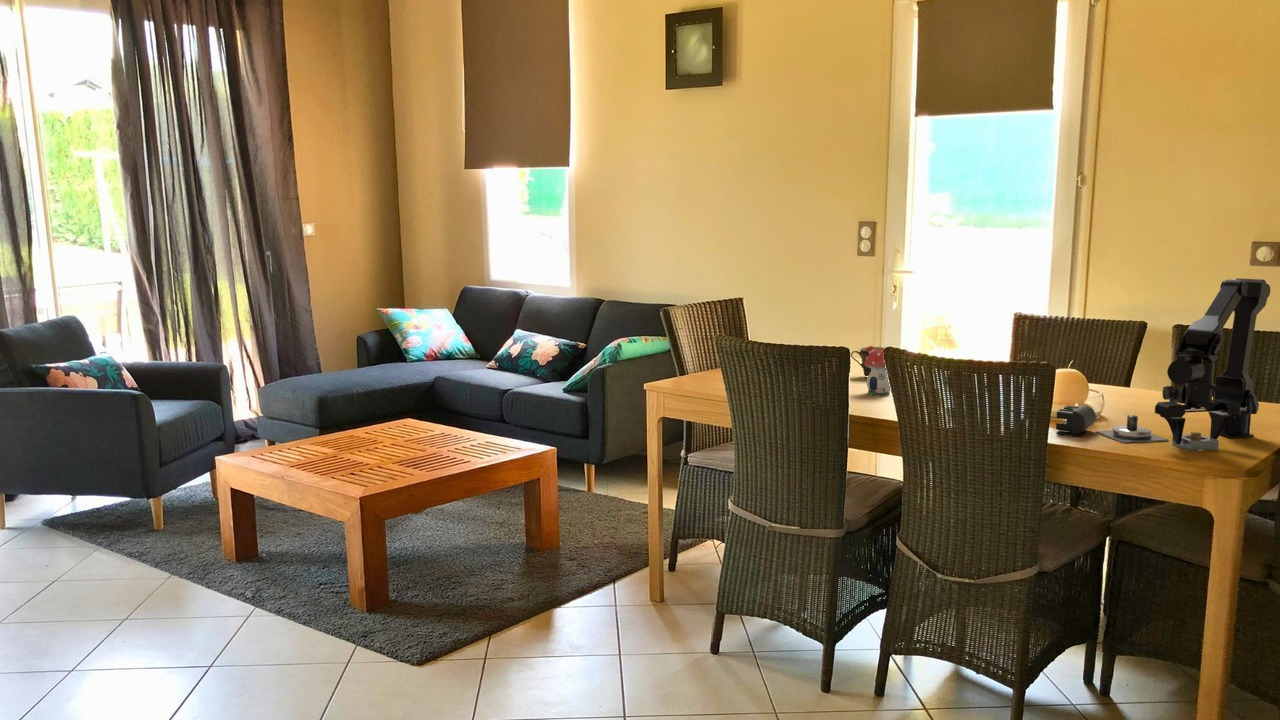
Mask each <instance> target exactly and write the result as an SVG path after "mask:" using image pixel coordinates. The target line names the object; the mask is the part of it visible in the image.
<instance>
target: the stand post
mask: <svg viewBox="0 0 1280 720" xmlns="http://www.w3.org/2000/svg"><path fill="white" fill-rule="evenodd" d="M1190 434H1191V435H1190V439H1192V440H1201V435H1202V433H1201V432H1195V431H1193V432H1190Z"/></svg>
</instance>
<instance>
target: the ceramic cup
mask: <svg viewBox="0 0 1280 720" xmlns="http://www.w3.org/2000/svg"><path fill="white" fill-rule="evenodd" d="M867 347H868V346H865V347H861V348H859V351H858V350H853V351H852V352H851V354H850V356H851V359H852V360H854V361H855V362H857V364H858V365H860V367H861V368H862V370H863V376H864V375H865V376H869V374H870V372H871V368H869V367H866V366H865V360H866V358H867V357H868V356H869V352H867V351H866V348H867ZM873 347H874V351H876V350H884V348H885V347H884V346H883V347H882V346H880V347H879V346H873ZM854 353H856V354H858V355H859V357H860V358H861V363H860V362H859V361H858V360H857V359H856V358H855V357H854V356H853V354H854Z"/></svg>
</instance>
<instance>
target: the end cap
mask: <svg viewBox="0 0 1280 720" xmlns="http://www.w3.org/2000/svg"><path fill="white" fill-rule="evenodd" d="M1055 417H1056V418H1055V419H1063V420H1066V421H1065V422H1062V423H1061V422H1056V423H1055V429H1056V430H1057V431H1056V435H1058V434H1059V435H1060V436H1066V435H1067V437H1076V436H1077V435H1079V434H1081V433H1083V432H1084V431H1086V430H1088V429H1089V428H1090V427H1091V426H1093V425H1094V423H1095V422H1096V418H1097V415H1096V412H1095V410H1094V409H1093V408H1092V407H1091V406H1090V405H1086V404H1083V405H1081V406H1075V405H1065V406H1064V407H1063V408H1060V409H1058V410H1057V411H1056V416H1055Z"/></svg>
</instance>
